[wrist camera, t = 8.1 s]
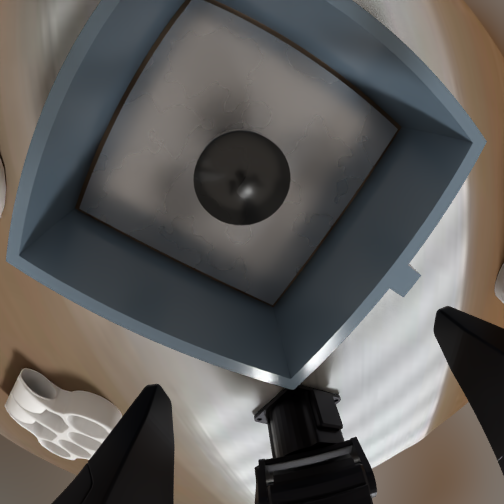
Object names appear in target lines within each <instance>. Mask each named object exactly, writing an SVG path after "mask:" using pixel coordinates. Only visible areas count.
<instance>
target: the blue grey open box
mask: <svg viewBox="0 0 504 504" xmlns="http://www.w3.org/2000/svg"><path fill="white" fill-rule="evenodd" d="M215 1H218V2H220V3H222V4H224V5H226V6H229V7H231V8H233V9H235V10H237V11H239V12H241V13H243V14H245V15H247V16H249V17H251V18H252V19H254V20H256V21H258V22H260V23H262V24H264V25H265V26H267V27H269V28H271V29H272V30H274V31H276V32H278V33H279V34H281V35H283V36H284V37H286V38H287V39H289V40H291V41H292V42H294V43H296V44H297V45H299V46H300V47H302V48H303V49H305V50H306V51H308V52H309V53H311V54H312V55H314V56H315V57H317V58H318V59H320V60H321V61H322V62H324V63H325V64H327V65H328V66H329V67H331V68H332V69H333V70H335V71H336V72H337V73H339V74H340V75H341V76H343V77H344V78H345V79H347V80H348V81H349V82H351V83H352V84H353V85H354V86H356V87H357V88H358V89H359V90H360V91H362V92H363V93H364V94H365V95H366V96H368V97H369V98H370V99H371V100H372V101H374V102H375V103H376V104H377V105H378V106H379V107H380V108H382V109H383V110H384V111H385V112H386V113H387V114H388V115H389V116H390V117H391V118H393V119H394V120H395V121H396V122H397V123H398V124H399V125H400V126H401V129H400V130H399V132H398V134H397V135H396V137H395V138H394V140H393V141H392V143H391V144H390V146H389V147H388V149H387V151H386V152H385V154H384V155H383V157H382V158H381V160H380V161H379V163H378V164H377V166H376V167H375V169H374V170H373V172H372V173H371V174H370V176H369V177H368V179H367V180H366V182H365V183H364V185H363V186H362V188H361V189H360V191H359V192H358V193H357V195H356V196H355V198H354V199H353V201H352V202H351V203H350V205H349V206H348V208H347V209H346V211H345V212H344V213H343V215H342V216H341V218H340V219H339V220H338V222H337V223H336V225H335V226H334V227H333V229H332V230H331V232H330V233H329V234H328V236H327V237H326V238H325V240H324V241H323V243H322V244H321V245H320V247H319V248H318V249H317V251H316V252H315V253H314V255H313V256H312V257H311V259H310V260H309V261H308V263H307V264H306V265H305V267H304V268H303V269H302V271H301V272H300V273H299V275H298V276H297V277H296V279H295V280H294V281H293V283H292V284H291V285H290V287H289V288H288V289H287V290H286V292H285V293H284V294H283V296H282V297H281V298H280V299H279V301H278V302H277V303H276V305H275V306H274V307H271V306H269V305H267V304H265V303H263V302H260V301H258V300H256V299H254V298H252V297H249V296H247V295H245V294H243V293H241V292H239V291H237V290H234V289H232V288H230V287H228V286H226V285H224V284H222V283H220V282H218V281H215V280H213V279H211V278H209V277H207V276H205V275H203V274H201V273H199V272H197V271H195V270H193V269H191V268H189V267H186V266H184V265H182V264H180V263H178V262H176V261H174V260H172V259H170V258H168V257H166V256H164V255H162V254H160V253H158V252H156V251H154V250H152V249H150V248H148V247H147V246H145V245H143V244H141V243H139V242H137V241H135V240H133V239H131V238H129V237H127V236H125V235H123V234H121V233H119V232H118V231H116V230H114V229H112V228H110V227H108V226H106V225H104V224H103V223H101V222H99V221H97V220H95V219H93V218H91V217H89V216H88V215H86V214H84V213H82V212H80V211H78V210H77V209H75V207H76V204H77V201H78V198H79V195H80V192H81V189H82V186H83V184H84V181H85V178H86V176H87V173H88V171H89V168H90V166H91V163H92V161H93V158H94V156H95V153H96V151H97V149H98V146H99V144H100V142H101V140H102V137H103V135H104V133H105V131H106V129H107V127H108V125H109V122H110V120H111V118H112V116H113V114H114V112H115V110H116V108H117V106H118V104H119V102H120V101H121V99H122V97H123V95H124V93H125V91H126V89H127V88H128V86H129V84H130V82H131V80H132V79H133V77H134V75H135V74H136V72H137V70H138V68H139V67H140V65H141V64H142V62H143V60H144V59H145V57H146V55H147V54H148V52H149V51H150V49H151V48H152V46H153V45H154V43H155V42H156V40H157V39H158V37H159V36H160V34H161V33H162V31H163V30H164V28H165V27H166V26H167V24H168V23H169V21H170V20H171V19H172V17H173V16H174V15H175V13H176V12H177V11H178V9H179V8H180V7H181V5H182V4H183V3H184V2H185V0H101V2H100V3H99V5H98V6H97V7H96V9H95V10H94V12H93V13H92V15H91V17H90V18H89V20H88V21H87V23H86V24H85V26H84V28H83V29H82V31H81V33H80V34H79V36H78V38H77V39H76V41H75V43H74V45H73V46H72V48H71V50H70V52H69V54H68V56H67V57H66V59H65V61H64V63H63V65H62V67H61V69H60V71H59V73H58V75H57V78H56V80H55V82H54V84H53V86H52V88H51V91H50V93H49V95H48V98H47V100H46V102H45V105H44V107H43V110H42V112H41V115H40V118H39V120H38V123H37V126H36V128H35V131H34V134H33V137H32V140H31V143H30V146H29V150H28V153H27V156H26V160H25V163H24V167H23V170H22V174H21V178H20V182H19V186H18V190H17V195H16V199H15V204H14V209H13V215H12V220H11V226H10V232H9V239H8V247H7V256H6V261H7V262H8V263H10V264H11V265H13V266H14V267H16V268H17V269H19V270H20V271H22V272H23V273H25V274H27V275H28V276H30V277H31V278H33V279H35V280H36V281H38V282H40V283H41V284H43V285H45V286H46V287H48V288H50V289H51V290H53V291H55V292H57V293H58V294H60V295H62V296H64V297H65V298H67V299H69V300H71V301H73V302H74V303H76V304H78V305H80V306H82V307H84V308H86V309H88V310H89V311H91V312H93V313H95V314H97V315H99V316H101V317H103V318H105V319H107V320H109V321H111V322H113V323H115V324H117V325H120V326H122V327H124V328H126V329H128V330H130V331H132V332H135V333H137V334H139V335H141V336H143V337H146V338H148V339H150V340H152V341H155V342H157V343H159V344H162V345H164V346H167V347H169V348H171V349H174V350H176V351H179V352H181V353H184V354H186V355H189V356H191V357H194V358H197V359H199V360H202V361H205V362H207V363H210V364H213V365H216V366H218V367H221V368H224V369H227V370H230V371H233V372H236V373H239V374H242V375H245V376H248V377H251V378H254V379H257V380H261V381H264V382H267V383H270V384H274V385H277V386H281V387H284V388H288V389H291V390H294V389H295V388H296V387H297V386H298V385H299V384H301V383H302V382H303V381H304V380H305V379H306V378H307V377H308V376H309V375H310V374H311V373H312V372H313V371H314V370H315V369H316V368H317V367H318V366H319V365H320V364H321V363H322V362H323V361H324V360H325V359H326V358H327V357H328V356H329V355H330V354H331V353H332V352H333V351H334V350H335V349H336V348H337V347H338V346H339V345H340V344H341V343H342V342H343V341H344V340H345V339H346V337H347V336H348V335H349V334H350V333H351V332H352V331H353V330H354V329H355V328H356V327H357V325H358V324H359V323H360V322H361V321H362V320H363V319H364V318H365V316H366V315H367V314H368V313H369V312H370V311H371V310H372V308H373V307H374V306H375V305H376V304H377V303H378V301H379V300H380V299H381V298H382V297H383V295H384V294H385V293H386V292H387V291H388V289H389V288H390V289H392V290H393V291H395V292H396V293H398V294H399V295H401V296H402V297H404V296H405V295H406V294H407V293H408V291H409V290H410V289H411V288H412V286H413V285H414V284H415V283H416V281H417V280H418V279H419V277H420V276H421V275H420V274H419V273H418V272H417V271H416V270H415V269H414V268H413V267H412V266H411V265H410V264H409V263H410V261H411V260H412V259H413V258H414V256H415V255H416V253H417V252H418V251H419V249H420V248H421V247H422V245H423V244H424V243H425V241H426V240H427V238H428V237H429V235H430V234H431V233H432V231H433V230H434V228H435V227H436V225H437V224H438V222H439V221H440V219H441V218H442V216H443V215H444V213H445V212H446V210H447V209H448V207H449V206H450V204H451V203H452V201H453V199H454V198H455V196H456V195H457V193H458V191H459V190H460V188H461V187H462V185H463V183H464V182H465V180H466V178H467V176H468V175H469V173H470V171H471V170H472V168H473V166H474V164H475V162H476V161H477V159H478V157H479V155H480V153H481V151H482V150H483V148H484V146H485V144H486V142H487V141H486V140H485V138H484V137H483V135H482V134H481V132H480V131H479V130H478V128H477V127H476V125H475V124H474V122H473V121H472V120H471V118H470V117H469V116H468V114H467V113H466V112H465V110H464V109H463V108H462V106H461V105H460V104H459V103H458V101H457V100H456V99H455V98H454V96H453V95H452V94H451V93H450V91H449V90H448V89H447V88H446V87H445V86H444V84H443V83H442V82H441V81H440V80H439V79H438V78H437V76H436V75H435V74H434V73H433V72H432V71H431V70H430V69H429V68H428V67H427V66H426V65H425V63H424V62H423V61H422V60H421V59H420V58H419V57H418V56H417V55H416V54H415V53H414V52H413V51H412V50H411V49H410V48H409V47H407V46H406V45H405V44H404V43H403V42H402V41H401V40H400V39H399V38H398V37H397V36H396V35H394V34H393V33H392V32H391V31H390V30H389V29H388V28H387V27H385V26H384V25H383V24H382V23H381V22H379V21H378V20H377V19H376V18H374V17H373V16H372V15H371V14H369V13H368V12H367V11H366V10H364V9H363V8H362V7H360V6H359V5H358V4H356V3H355V2H354V1H352V0H215Z"/></svg>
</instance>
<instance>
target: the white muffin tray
mask: <svg viewBox="0 0 504 504" xmlns="http://www.w3.org/2000/svg"><path fill="white" fill-rule="evenodd" d="M32 390H33V391H32ZM5 408H6V410H7V412H8V413H9V415H10V416H11V417H12V418H13V419H14V420H15V421H16V422H17V423H18V424H19V425H21V426H22V427H24V428H25V429H27V430H28V431H30V432H31V433H33V434H34V435H35V436H36V437H37V438H38V441H39V443H40V444H41V445H42V446H43V447H45V448H46V449H47V450H49V451H50V452H52V453H54V454H56V455H58V456H60V457H63V458H66V459H69V460H75V459H76V458H83V459H88V460H90V458H91V457H92V456H93V454H94V453H95V452H96V450H97V449H98V448H99V447H100V445H101V444H102V443H103V441H104V440H105V439H106V437H107V436H108V435H109V433H110V432H111V431H112V430H113V428H114V427H115V426H116V424H117V423H118V422H119V420H120V419H121V418H122V414H121V412H120V410H119V409H118V408H117V407H116V406H115V405H114V404H113V403H111V402H110V401H108V400H107V399H105V398H103V397H101V396H99V395H96V394H94V393H91V392H87V391H73V392H70V391H66V390H63V389H60V388H59V387H58V386H56V385H55V384H53V383H52V382H50V381H49V380H48V379H47V378H46V377H45V376H43V375H42V374H41V373H39V372H37V371H35V370H32V369H28V368H24V369H22V370H21V372H20V374H19V376H18V378H17V380H16V382H15V384H14V387H13V389H12V391H11V393H10V395H9V397H8V400H7V402H6V404H5Z"/></svg>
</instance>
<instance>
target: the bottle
mask: <svg viewBox="0 0 504 504" xmlns="http://www.w3.org/2000/svg"><path fill="white" fill-rule="evenodd" d="M5 195H6V183H5V174H4V167H3V164H2V161H1V158H0V217H1V214H2V211H3V209H4V206H5Z"/></svg>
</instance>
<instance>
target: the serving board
mask: <svg viewBox="0 0 504 504" xmlns="http://www.w3.org/2000/svg"><path fill="white" fill-rule="evenodd" d="M204 1H206V2H208V3H211V4H213V5H215V6H217V7H220V8H222V9H224V10H226V11H228V12H230V13H232V14H234V15H236V16H238V17H240V18H242V19H244V20H246V21H248V22H250V23H252V24H254V25H256V26H257V27H259V28H261V29H263V30H265V31H266V32H268V33H270V34H272V35H273V36H275V37H277V38H278V39H280V40H282V41H283V42H285V43H287V44H288V45H290V46H291V47H293V48H295V49H296V50H298V51H299V52H301V53H302V54H304V55H305V56H307V57H308V58H310V59H311V60H313V61H314V62H316V63H317V64H319V65H320V66H321V67H323V68H324V69H326V70H327V71H328V72H330V73H331V74H333V75H334V76H335V77H337V78H338V79H339V80H341V81H342V82H343V83H344V84H346V85H347V86H348V87H350V88H351V89H352V90H353V91H355V92H356V93H357V94H358V95H360V96H361V97H362V98H363V99H364V100H366V101H367V102H368V103H369V104H370V105H372V106H373V107H374V108H375V109H376V110H377V111H378V112H380V113H381V114H382V115H383V116H384V117H385V118H386V119H387V120H388V121H390V122H391V123H392V124H393V125H394V126H395V127H396V128H397V129H398V130H397V132H396V133H395V135H394V136H393V138H392V139H391V141H390V142H389V144H388V145H387V147H386V148H385V150H384V151H383V153H382V154H381V156H380V157H379V159H378V160H377V162H376V163H375V165H374V166H373V168H372V169H371V171H370V172H369V174H368V175H367V177H366V178H365V180H364V181H363V183H362V184H361V186H360V187H359V189H358V190H357V191H356V193H355V194H354V196H353V197H352V199H351V200H350V201H349V203H348V204H347V206H346V207H345V209H344V210H343V211H342V213H341V214H340V216H339V217H338V218H337V220H336V221H335V223H334V224H333V225H332V227H331V228H330V230H329V231H328V232H327V234H326V235H325V237H324V238H323V239H322V241H321V242H320V243H319V245H318V246H317V247H316V249H315V250H314V252H313V253H312V254H311V256H310V257H309V258H308V260H307V261H306V262H305V264H304V265H303V266H302V268H301V269H300V270H299V272H298V273H297V274H296V276H295V277H294V278H293V280H292V281H291V282H290V283H289V285H288V286H287V287H286V289H285V290H284V291H283V293H282V294H281V295H280V297H279V298H278V299H277V300H276V302H275V303H274V304H273V305H271V304H269V303H267V302H265V301H263V300H260V299H258V298H256V297H254V296H252V295H250V294H248V293H245V292H243V291H241V290H239V289H237V288H235V287H233V286H230V285H228V284H226V283H224V282H222V281H220V280H218V279H216V278H214V277H212V276H210V275H207V274H205V273H203V272H201V271H199V270H197V269H195V268H193V267H191V266H189V265H187V264H185V263H183V262H181V261H179V260H177V259H175V258H173V257H171V256H169V255H167V254H165V253H163V252H161V251H159V250H157V249H155V248H153V247H151V246H149V245H147V244H145V243H143V242H141V241H139V240H137V239H135V238H134V237H132V236H130V235H128V234H126V233H124V232H122V231H120V230H118V229H116V228H114V227H113V226H111V225H109V224H107V223H105V222H103V221H101V220H99V219H97V218H96V217H94V216H92V215H90V214H88V213H86V212H85V211H83V210H81V209H79V208H80V205H81V202H82V199H83V196H84V194H85V191H86V188H87V186H88V183H89V180H90V178H91V175H92V173H93V170H94V168H95V165H96V163H97V160H98V158H99V156H100V153H101V151H102V149H103V147H104V144H105V142H106V140H107V138H108V135H109V133H110V131H111V129H112V127H113V125H114V123H115V121H116V119H117V117H118V115H119V113H120V111H121V109H122V107H123V105H124V103H125V101H126V99H127V98H128V96H129V94H130V92H131V90H132V88H133V87H134V85H135V83H136V81H137V80H138V78H139V76H140V75H141V73H142V71H143V70H144V68H145V66H146V65H147V63H148V61H149V60H150V58H151V57H152V55H153V53H154V52H155V50H156V49H157V47H158V46H159V44H160V43H161V41H162V40H163V38H164V37H165V35H166V34H167V33H168V31H169V30H170V28H171V27H172V25H173V24H174V23H175V21H176V20H177V19H178V17H179V16H180V15H181V13H182V12H183V11H184V9H185V8H186V7H187V5H188V4H189V3H190V2H191V0H185V2H184V3H183V4H182V5H181V7H180V8H179V9H178V11H177V12H176V13H175V15H174V16H173V17H172V19H171V20H170V21H169V23H168V24H167V26H166V27H165V28H164V30H163V31H162V33H161V34H160V36H159V37H158V39H157V40H156V42H155V43H154V45H153V46H152V48H151V49H150V51H149V52H148V54H147V55H146V57H145V59H144V60H143V62H142V64H141V65H140V67H139V68H138V70H137V72H136V74H135V75H134V77H133V79H132V80H131V82H130V84H129V86H128V88H127V89H126V91H125V93H124V95H123V97H122V99H121V101H120V102H119V104H118V106H117V108H116V110H115V112H114V114H113V116H112V118H111V120H110V122H109V125H108V127H107V129H106V131H105V133H104V135H103V137H102V140H101V142H100V144H99V146H98V149H97V151H96V153H95V156H94V158H93V161H92V163H91V166H90V168H89V171H88V173H87V176H86V178H85V181H84V184H83V186H82V189H81V192H80V195H79V198H78V201H77V204H76V207H75V209H77V210H78V211H80V212H82V213H84V214H86V215H88V216H89V217H91V218H93V219H95V220H97V221H99V222H101V223H103V224H104V225H106V226H108V227H110V228H112V229H114V230H116V231H118V232H119V233H121V234H123V235H125V236H127V237H129V238H131V239H133V240H135V241H137V242H139V243H141V244H143V245H145V246H147V247H148V248H150V249H152V250H154V251H156V252H158V253H160V254H162V255H164V256H166V257H168V258H170V259H172V260H174V261H176V262H178V263H180V264H182V265H184V266H186V267H189V268H191V269H193V270H195V271H197V272H199V273H201V274H203V275H205V276H207V277H209V278H211V279H213V280H215V281H218V282H220V283H222V284H224V285H226V286H228V287H230V288H232V289H234V290H237V291H239V292H241V293H243V294H245V295H247V296H249V297H252V298H254V299H256V300H258V301H260V302H263V303H265V304H267V305H269V306H271V307H274V306H275V305H276V303H277V302H278V301H279V299H280V298H281V297H282V296H283V294H284V293H285V292H286V290H287V289H288V288H289V287H290V285H291V284H292V283H293V281H294V280H295V279H296V277H297V276H298V275H299V273H300V272H301V271H302V269H303V268H304V267H305V265H306V264H307V263H308V261H309V260H310V259H311V257H312V256H313V255H314V253H315V252H316V251H317V249H318V248H319V247H320V245H321V244H322V243H323V241H324V240H325V238H326V237H327V236H328V234H329V233H330V232H331V230H332V229H333V227H334V226H335V225H336V223H337V222H338V220H339V219H340V218H341V216H342V215H343V213H344V212H345V211H346V209H347V208H348V206H349V205H350V203H351V202H352V201H353V199H354V198H355V196H356V195H357V193H358V192H359V191H360V189H361V188H362V186H363V185H364V183H365V182H366V180H367V179H368V177H369V176H370V174H371V173H372V172H373V170H374V169H375V167H376V166H377V164H378V163H379V161H380V160H381V158H382V157H383V155H384V154H385V152H386V151H387V149H388V147H389V146H390V144H391V143H392V141H393V140H394V138H395V137H396V135H397V134H398V132H399V130H400V129H401V126H400V125H399V124H398V123H397V122H396V121H395V120H394V119H393V118H391V117H390V116H389V115H388V114H387V113H386V112H385V111H384V110H383V109H382V108H380V107H379V106H378V105H377V104H376V103H375V102H374V101H372V100H371V99H370V98H369V97H368V96H366V95H365V94H364V93H363V92H362V91H360V90H359V89H358V88H357V87H356V86H354V85H353V84H352V83H351V82H349V81H348V80H347V79H345V78H344V77H343V76H341V75H340V74H339V73H337V72H336V71H335V70H333V69H332V68H331V67H329V66H328V65H327V64H325V63H324V62H322V61H321V60H320V59H318V58H317V57H315V56H314V55H312V54H311V53H309V52H308V51H306V50H305V49H303V48H302V47H300V46H299V45H297V44H296V43H294V42H292V41H291V40H289V39H287V38H286V37H284V36H283V35H281V34H279V33H278V32H276V31H274V30H272V29H271V28H269V27H267V26H265V25H264V24H262V23H260V22H258V21H256V20H254V19H252V18H251V17H249V16H247V15H245V14H243V13H241V12H239V11H237V10H235V9H233V8H231V7H229V6H226V5H224V4H222V3H220V2H218V1H215V0H204Z"/></svg>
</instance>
